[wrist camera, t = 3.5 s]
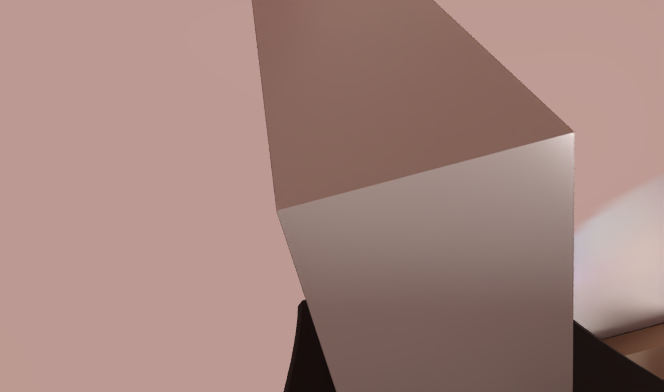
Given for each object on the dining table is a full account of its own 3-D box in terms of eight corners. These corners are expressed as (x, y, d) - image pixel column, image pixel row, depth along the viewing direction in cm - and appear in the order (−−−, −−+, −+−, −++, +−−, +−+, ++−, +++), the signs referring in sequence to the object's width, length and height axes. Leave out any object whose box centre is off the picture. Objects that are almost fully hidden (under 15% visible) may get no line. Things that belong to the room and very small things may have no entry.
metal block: (387, -43, 11) (573, 131, 5) (455, 387, 17) (570, 680, 12) (250, -8, 11) (276, 212, 5) (371, 409, 17) (443, 714, 12)
